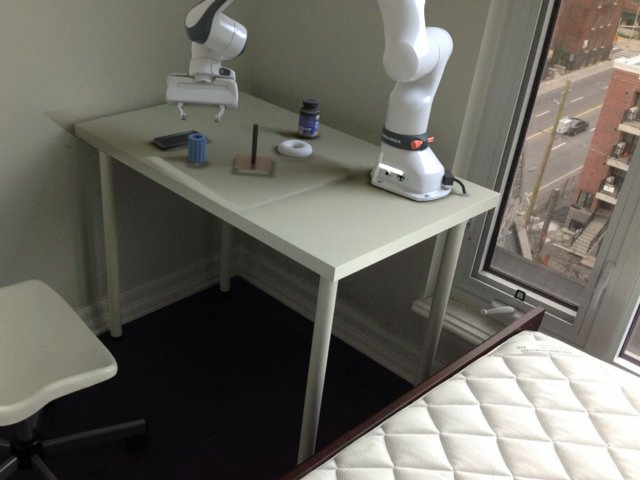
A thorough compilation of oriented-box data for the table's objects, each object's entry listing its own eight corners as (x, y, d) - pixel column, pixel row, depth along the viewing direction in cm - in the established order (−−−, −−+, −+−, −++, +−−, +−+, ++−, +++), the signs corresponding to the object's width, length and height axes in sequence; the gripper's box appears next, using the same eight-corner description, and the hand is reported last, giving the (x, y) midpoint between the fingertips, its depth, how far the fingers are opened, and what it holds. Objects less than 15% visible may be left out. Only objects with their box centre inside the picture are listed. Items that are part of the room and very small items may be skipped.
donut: (274, 160, 206) (309, 163, 205) (275, 148, 205) (310, 152, 203) (280, 147, 215) (313, 151, 213) (280, 136, 213) (314, 139, 211)
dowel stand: (271, 162, 205) (274, 119, 198) (270, 176, 196) (274, 132, 190) (236, 159, 205) (238, 116, 198) (233, 173, 197) (236, 129, 190)
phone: (151, 138, 212) (194, 129, 220) (151, 142, 213) (194, 133, 220) (165, 147, 207) (209, 138, 214) (165, 151, 207) (208, 141, 215)
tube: (208, 165, 201) (209, 137, 196) (194, 168, 198) (194, 141, 194) (198, 159, 204) (199, 132, 199) (184, 162, 201) (184, 135, 197)
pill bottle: (317, 139, 221) (321, 104, 215) (297, 138, 221) (301, 103, 215) (316, 132, 226) (320, 97, 220) (297, 131, 226) (300, 96, 220)
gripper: (166, 66, 200) (161, 112, 197) (240, 71, 200) (236, 117, 197) (168, 78, 206) (164, 123, 203) (240, 83, 206) (236, 128, 203)
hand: (200, 120), depth 200 cm, fingers open, 8 cm apart
